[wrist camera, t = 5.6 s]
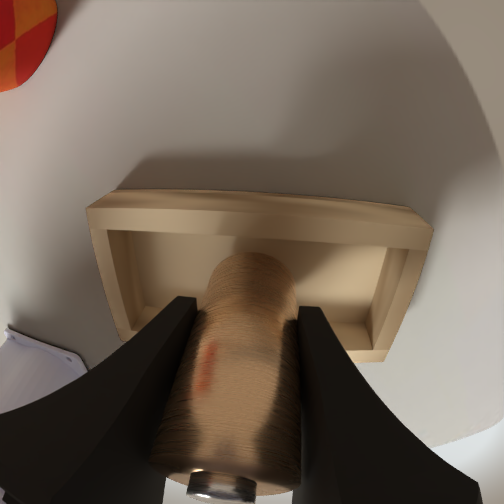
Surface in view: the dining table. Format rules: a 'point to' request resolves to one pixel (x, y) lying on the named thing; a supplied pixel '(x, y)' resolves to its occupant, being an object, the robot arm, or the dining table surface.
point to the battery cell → (237, 389)
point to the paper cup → (24, 38)
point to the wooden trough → (267, 242)
